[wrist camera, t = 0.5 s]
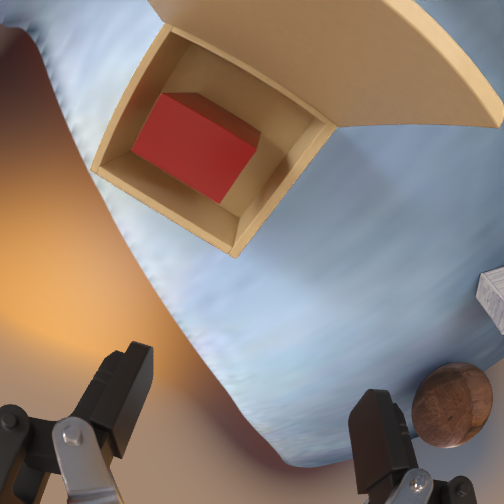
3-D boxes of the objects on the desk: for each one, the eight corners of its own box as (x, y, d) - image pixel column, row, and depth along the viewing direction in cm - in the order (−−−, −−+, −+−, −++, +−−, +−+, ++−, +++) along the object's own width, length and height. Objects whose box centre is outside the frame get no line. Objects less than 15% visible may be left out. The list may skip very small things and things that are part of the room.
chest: (242, 225, 31) (235, 259, 25) (123, 152, 27) (89, 170, 21) (324, 116, 25) (341, 122, 19) (191, 34, 21) (167, 18, 15)
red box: (196, 92, 24) (161, 92, 16) (261, 132, 25) (257, 149, 17) (172, 132, 26) (130, 150, 18) (234, 170, 27) (219, 204, 19)
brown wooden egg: (395, 403, 47) (410, 470, 34) (412, 354, 40) (440, 435, 27) (459, 386, 45) (481, 444, 32) (484, 336, 38) (519, 402, 25)
